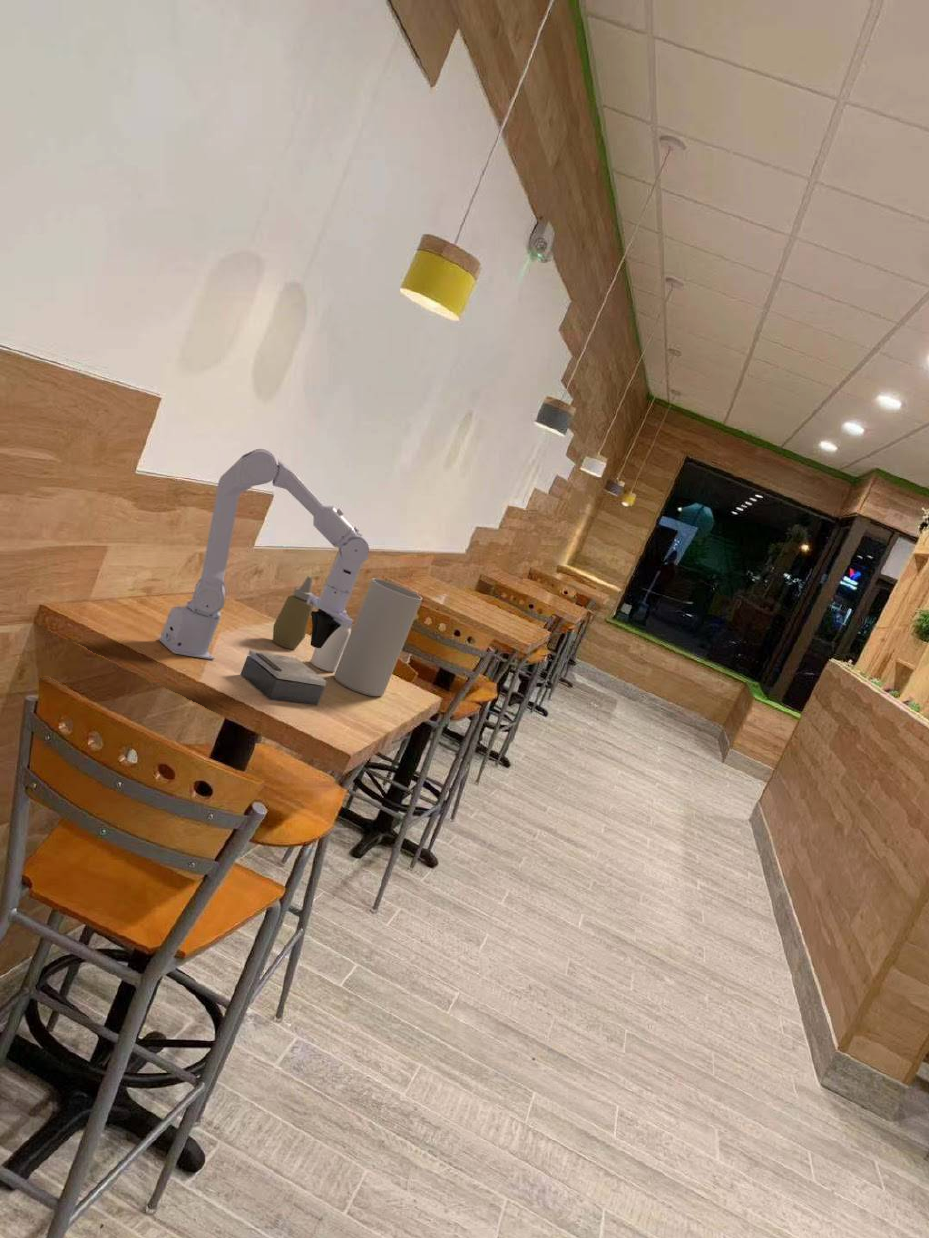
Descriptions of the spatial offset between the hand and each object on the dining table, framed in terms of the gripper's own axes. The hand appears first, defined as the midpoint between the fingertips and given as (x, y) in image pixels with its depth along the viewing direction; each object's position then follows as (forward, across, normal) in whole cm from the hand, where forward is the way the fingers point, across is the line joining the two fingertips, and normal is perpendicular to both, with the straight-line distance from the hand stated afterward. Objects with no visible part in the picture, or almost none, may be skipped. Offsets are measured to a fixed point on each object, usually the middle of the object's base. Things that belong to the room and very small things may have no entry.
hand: (315, 646), depth 195 cm
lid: (+5, -4, +8) cm, 10 cm away
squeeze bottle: (+10, +28, -13) cm, 32 cm away
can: (+10, +16, -17) cm, 25 cm away
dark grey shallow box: (+9, -4, +8) cm, 13 cm away
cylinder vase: (+10, +6, -21) cm, 24 cm away
